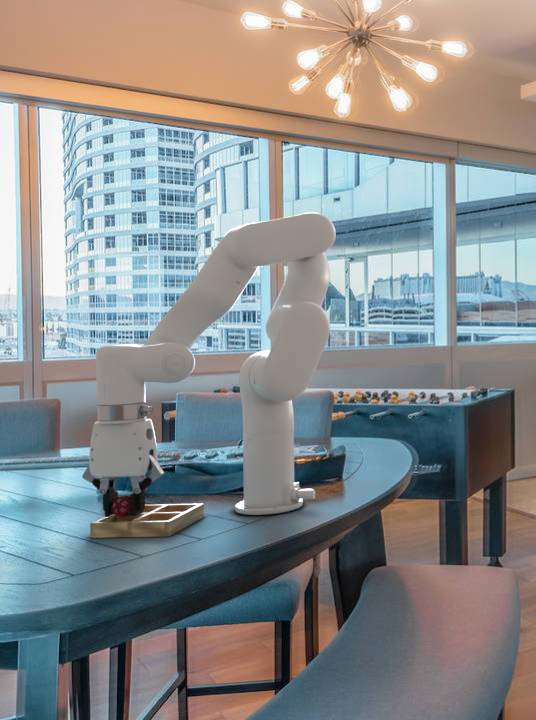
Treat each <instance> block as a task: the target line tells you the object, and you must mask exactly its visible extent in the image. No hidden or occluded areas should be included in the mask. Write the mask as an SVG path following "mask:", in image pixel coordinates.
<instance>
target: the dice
mask: <svg viewBox="0 0 536 720" xmlns="http://www.w3.org/2000/svg"><path fill="white" fill-rule="evenodd" d="M111 512H112V513H114V514H116V515H118V516H119V517H125V516H129V515H131V514H130V495H128V494H127V495H122V496H118V497H117V498H114V501H113V504H112V508H111Z"/></svg>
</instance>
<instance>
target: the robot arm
mask: <svg viewBox="0 0 536 720" xmlns="http://www.w3.org/2000/svg"><path fill="white" fill-rule="evenodd" d="M336 237H337V232H336V227H335V225H334V223H333V221H332V220H331V219H330V218H329V217H327V216H326V215H325V214H322V213H319V212H314V211H310V212H304V213H300V214H295V215H290V216H285V217H281V218H275V219H270V220H264V221H257V222H251V223H246V224H242V225H239V226H235V227H233V228H231V229H230V230H228V231H227V232H226V233H225V234H224V236H222V238H221V239H220V241H218V244H217V245H216V247H215V248H214V249H213V251H212V252H211V254H210V255H209V257H208V258H207V259H206V261H205V263H204V264H203V266H202V267H201V269H200V270H199V272H198V273H197V274H196V275H195V277H194V278H193V280H192V281H191V283H190V284H189V285H188V287H187V288H186V289H185V290H184V292H183V293H182V294H180V296H179V298H178V299H177V300H176V301H175V303H174V304H173V305H172V306H171V307H170V309H169V310H168V311H167V312H166V313H165V315H164V316H162V318H161V320H160V321H159V322H158V323H157V325H156V327H155V328H154V329H153V330H152V332H151V334H150V335H149V337H148V338H147V339H146V341H145V342H144V344H143V345H138V344H131V343H130V344H109V345H108V344H107V345H102V346H100V347H98V349H97V351H96V354H95V365H96V366H95V368H96V369H95V370H96V371H95V372H96V404H97V407H96V409H97V410H96V411H97V415H96V416H97V421H95V422H94V423H93V426H92V430H91V434H90V435H91V436H90V442H89V460H88V461H89V465H88V466H87V467H86V469H85V471H84V472H83V474H82V479H83V480H85V481H86V482H88V483H90V484H92V486H94V487H95V488H96V489H97V490H98V492H99V494H100V495H102V510H103V512H104V517H109V516H112V515H114V513H112V512H111V508H112V504H113V501H114V498H117V497H119V492H118V490H115V489H116V481H117V478H129V479H130V482H131V487H132V493H131V494H130V495H129V497H130V514H131V516H136V515H139V514H141V513H143V510H144V508H145V505H146V491H147V490H148V489H149V487H150V486H151V485H152V484H154V482H155V481H157V480H159V479H160V478H161V477H163V476H164V475H165V472H164V470H163V468H162V467H161V465H160V464H159V456H158V445H157V438H156V432H155V429H154V424H153V421H152V419H151V418H147V416H148V415H149V414H153V412H154V407H153V406H152V405H150V406H149V405H148V403H147V401H146V400H147V399H146V398H147V397H146V383H160V384H161V383H164V384H174V383H179V382H182V381H184V380H186V379H187V378H189V376H190V375H192V373H193V371H194V369H195V367H196V358H195V356H194V354H193V352H192V350H191V349H192V347H193V346H194V344H195V343H196V342H197V340H198V339H199V337H201V335H202V334H203V333H204V332H205V331H206V330H207V329H208V328H209V327H210V326H211V325H213V324H214V323H215V322H217V321H219V320H221V319H222V318H223V317H225V315H227V314H228V313H229V312H230V311H231V310H232V309H233V308H234V306H235V305H236V303H237V301H238V299H239V298H240V297H241V295H242V293H243V292H244V290H245V289H246V287H247V286H248V284H249V283H250V282H251V280H252V279H253V277H254V275H255V274H256V272H257V271H258V270H259V268H262V267H268V266H272V265H273V266H274V265H279V264H285V263H286V275H285V278H284V281H283V284H282V287H281V289H280V291H279V293H278V295H277V298H276V300H275V302H274V304H273V307H272V309H271V310H270V313H269V315H268V317H267V320H266V323H265V333H266V336H267V338H268V339H269V340H270V341H271V343H272V345H271V348H270V349H269V350H262V351H258V352H255V353H253V354H251V355H249V356H248V357H247V358H246V359H245V361H244V362H243V364H242V365H241V367H240V371H239V375H238V386H239V392H240V400H241V401H240V402H241V409H242V465H243V466H242V467H243V468H242V469H243V471H242V472H243V474H242V475H243V481H242V482H243V500H242V501H241V500H240V501H239V502H237V503H236V504H235V505H234V511H235V512H236V513H238V514H240V515H247V516H265V515H277V514H282V513H287V512H291V511H294V510H297V509H299V508H301V507H302V506H303V505H304V504H303V503H304V500H315V499H316V490H315V489H314V488H301V487H300V482H299V481H295V414H294V413H295V412H294V406H293V400H296V399H297V398H299V397H300V396H301V395H303V393H304V392H305V391H306V390H307V388H308V387H309V385H310V383H311V381H312V379H313V376H314V374H315V372H316V369H317V367H318V364H319V363H320V360H321V358H322V355H323V353H324V351H325V348H326V346H327V343H328V341H329V338H330V332H331V322H330V321H331V320H330V317H329V315H328V313H327V311H326V310H325V308H323V307H322V306H323V303H324V300H325V298H326V294H327V292H328V290H329V286H330V282H331V281H330V280H331V269H330V265H329V261H328V257H327V255H326V252H328V251H329V250H330V249H331V248H332V247H333V246H334V244H335V242H336ZM147 473H150V474H149V475H148V476H146V475H147Z"/></svg>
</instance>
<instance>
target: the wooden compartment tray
mask: <svg viewBox="0 0 536 720" xmlns="http://www.w3.org/2000/svg"><path fill="white" fill-rule="evenodd" d="M203 518H205V504H204V503H173V504H172V503H162V504H158V503H157V504H155V503H154V504H145V508H144V510H143V513H141V514H139V515H136V516H131V515H129V516H125V517H119V516H118V515H116V514H114V515H112V516H109V517H105V516H103V517H101V518H99V519H97V520H94V521H92V522H90V523H89V524H90V525H89V533H90V534H89V538H90V539H105V538H107V539H108V538H148V537H149V538H153V537H154V538H156V537H157V538H158V537H159V538H161V537H162V538H163V537H171V536H173V535H174V534H176V533H178V532H180V531H182V530H183V529H185V528H187V527H189V526H191V525H192V524H194V523H196V522H197V521H199V520H201V519H203Z"/></svg>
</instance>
